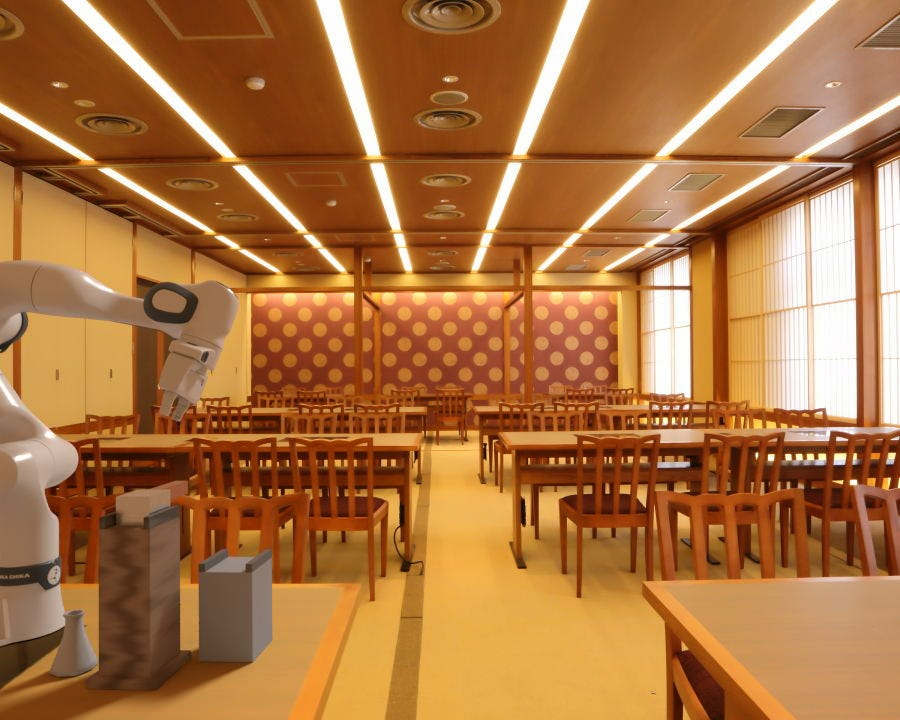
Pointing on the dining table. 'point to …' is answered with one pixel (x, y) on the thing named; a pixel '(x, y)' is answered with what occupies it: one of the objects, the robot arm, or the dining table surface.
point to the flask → (73, 648)
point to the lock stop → (146, 502)
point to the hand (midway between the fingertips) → (169, 417)
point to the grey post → (235, 607)
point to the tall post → (139, 603)
